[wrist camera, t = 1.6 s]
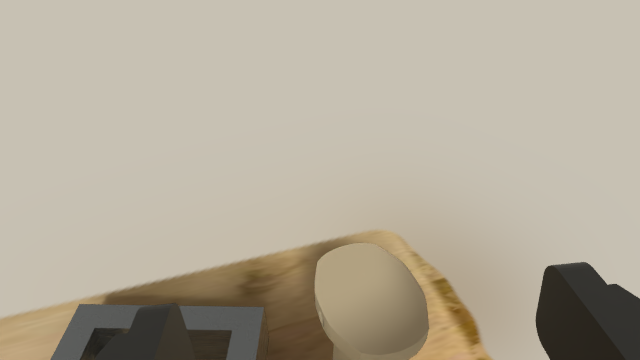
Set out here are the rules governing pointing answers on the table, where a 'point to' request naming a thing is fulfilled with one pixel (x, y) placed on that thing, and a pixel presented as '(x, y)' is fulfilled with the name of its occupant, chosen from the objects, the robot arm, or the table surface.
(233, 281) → the table surface
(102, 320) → the housing
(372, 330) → the handle
